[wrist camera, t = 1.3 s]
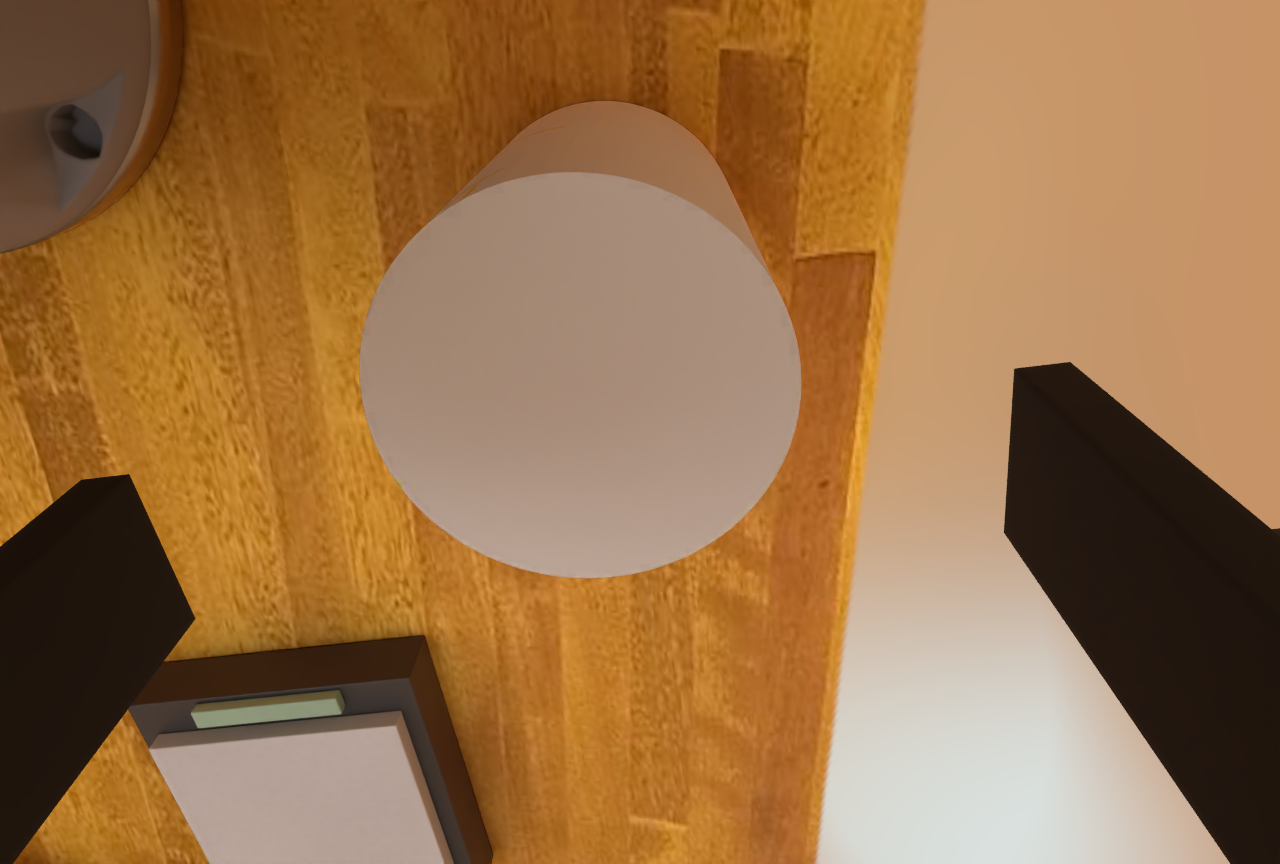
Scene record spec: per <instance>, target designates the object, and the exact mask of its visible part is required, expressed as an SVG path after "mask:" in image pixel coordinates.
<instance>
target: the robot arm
mask: <svg viewBox="0 0 1280 864" xmlns="http://www.w3.org/2000/svg"><path fill="white" fill-rule="evenodd" d="M182 46H183V42H182V13H181V4H180V0H0V253H6V252H11V251H14V250H17V249H20V248H23V247H27V246H30V245H33V244H35V243H38V242H41V241H43V240H46V239H48V238H51V237H54V236H56V235H59V234H61V233H64V232H66V231H68V230H71V229H73V228H75V227H77V226H80V225H82V224H84V223H86V222H87V221H89V220H91V219H92V218H94V217H96V216H97V215H99V214H101V213H102V212H104V211H105V210H106V209H107V208H109V207H110V206H111V205H112V204H114V203H115V202H116V201H117V200H119V199H120V198H121V197H122V196H123V195H124V194H125V193H126V192H127V191H128V190H129V189H130V188H131V187H132V185H133V184H134V183H135V182H136V181H137V180H138V178H139V177H140V176H141V174H142V173H143V172H144V170H145V169H146V167H147V166H148V165H149V163H150V161H151V160H152V158H153V156H154V154H155V152H156V151H157V149H158V147H159V145H160V143H161V141H162V139H163V136H164V134H165V131H166V129H167V126H168V124H169V121H170V118H171V114H172V111H173V107H174V104H175V100H176V96H177V90H178V85H179V79H180V73H181V60H182ZM1006 494H1007V495H1006V510H1005V525H1004V533H1005V535H1006V536H1007V538H1008V539H1009V540H1010V542H1011V543H1012V545H1013V546H1014V548H1015V549H1016V551H1017V552H1018V553H1019V555H1020V557H1021V558H1022V560H1023V561H1024V562H1025V564H1026V565H1027V567H1028V568H1029V570H1030V571H1031V573H1032V574H1033V576H1034V577H1035V579H1036V580H1037V582H1038V583H1039V584H1040V586H1041V587H1042V589H1043V590H1044V592H1045V593H1046V595H1047V596H1048V598H1049V599H1050V600H1051V602H1052V603H1053V605H1054V606H1055V608H1056V609H1057V611H1058V612H1059V614H1060V615H1061V617H1062V618H1063V620H1064V621H1065V622H1066V624H1067V625H1068V627H1069V628H1070V630H1071V631H1072V633H1073V634H1074V636H1075V637H1076V639H1077V640H1078V641H1079V643H1080V644H1081V646H1082V647H1083V649H1084V650H1085V652H1086V653H1087V655H1088V656H1089V657H1090V659H1091V660H1092V662H1093V663H1094V665H1095V666H1096V668H1097V669H1098V671H1099V672H1100V674H1101V675H1102V677H1103V678H1104V679H1105V681H1106V682H1107V684H1108V685H1109V687H1110V688H1111V690H1112V691H1113V693H1114V694H1115V696H1116V697H1117V699H1118V700H1119V701H1120V703H1121V704H1122V706H1123V707H1124V708H1125V710H1126V712H1127V713H1128V715H1129V716H1130V718H1131V719H1132V720H1133V722H1134V723H1135V725H1136V726H1137V728H1138V729H1139V731H1140V732H1141V734H1142V735H1143V737H1144V738H1145V739H1146V741H1147V742H1148V744H1149V745H1150V747H1151V748H1152V750H1153V751H1154V753H1155V754H1156V755H1157V757H1158V759H1159V760H1160V761H1161V763H1162V764H1163V766H1164V767H1165V769H1166V770H1167V772H1168V773H1169V775H1170V776H1171V778H1172V779H1173V780H1174V782H1175V783H1176V785H1177V786H1178V788H1179V789H1180V791H1181V792H1182V794H1183V795H1184V797H1185V798H1186V799H1187V801H1188V802H1189V804H1190V805H1191V807H1192V808H1193V810H1194V811H1195V812H1196V814H1197V816H1198V817H1199V818H1200V820H1201V821H1202V823H1203V824H1204V826H1205V827H1206V829H1207V830H1208V832H1209V833H1210V835H1211V836H1212V837H1213V839H1214V840H1215V842H1216V843H1217V845H1218V846H1219V847H1220V849H1221V851H1222V852H1223V854H1224V855H1225V857H1226V858H1227V859H1228V861H1229V862H1230V864H1280V528H1279V529H1270V528H1269V527H1268V526H1267V525H1266V524H1264V523H1263V522H1262V521H1261V520H1260V519H1258V518H1257V517H1256V516H1255V515H1254V514H1252V513H1251V512H1250V511H1249V510H1248V509H1246V508H1245V507H1244V506H1243V505H1242V504H1240V503H1239V502H1238V501H1237V500H1235V499H1234V498H1233V497H1232V496H1231V495H1230V494H1228V493H1227V492H1226V491H1225V490H1223V489H1222V488H1221V487H1220V486H1219V485H1218V484H1216V483H1215V482H1214V481H1213V480H1211V479H1210V478H1209V477H1208V476H1207V475H1205V474H1204V473H1203V472H1202V471H1201V470H1199V469H1198V468H1197V467H1195V465H1193V464H1192V463H1191V462H1190V461H1189V460H1187V459H1186V458H1185V457H1184V456H1183V455H1181V454H1180V453H1179V452H1178V451H1177V450H1175V449H1174V448H1173V447H1172V446H1171V445H1169V444H1168V443H1167V442H1166V441H1165V440H1163V439H1162V438H1161V437H1160V436H1158V435H1157V434H1156V433H1155V432H1154V431H1152V430H1151V429H1150V428H1149V427H1147V426H1146V425H1145V424H1144V423H1143V422H1142V421H1140V420H1139V419H1138V418H1137V417H1136V416H1134V415H1133V414H1132V413H1131V412H1130V411H1128V410H1127V409H1126V408H1125V407H1124V406H1122V405H1121V404H1120V403H1119V402H1117V401H1116V400H1115V399H1114V398H1113V397H1111V396H1110V395H1109V394H1108V393H1107V392H1105V391H1104V390H1103V389H1102V388H1101V387H1099V386H1098V385H1097V384H1096V383H1095V382H1093V381H1092V380H1091V379H1090V378H1088V377H1087V376H1086V375H1085V374H1084V373H1083V372H1081V371H1080V370H1079V369H1078V368H1077V367H1075V366H1074V365H1073V364H1072V363H1071V362H1067V363H1059V364H1050V365H1042V366H1034V367H1025V368H1017V369H1014V383H1013V398H1012V415H1011V430H1010V445H1009V462H1008V478H1007V493H1006ZM194 620H195V617H194V615H193V612H192V610H191V608H190V606H189V604H188V602H187V599H186V597H185V595H184V593H183V591H182V588H181V586H180V584H179V582H178V580H177V578H176V575H175V573H174V571H173V569H172V567H171V564H170V562H169V560H168V558H167V556H166V554H165V551H164V549H163V547H162V545H161V543H160V540H159V538H158V536H157V534H156V532H155V530H154V527H153V525H152V523H151V521H150V519H149V516H148V514H147V512H146V510H145V508H144V506H143V503H142V501H141V499H140V497H139V495H138V492H137V490H136V488H135V486H134V484H133V482H132V479H131V477H130V475H129V474H127V475H119V476H110V477H102V478H94V479H85V480H81V481H79V482H78V483H77V484H76V485H75V486H73V487H72V488H71V489H70V490H69V491H67V492H66V493H65V494H64V495H62V496H61V497H60V498H59V499H58V500H56V501H55V502H54V503H53V504H52V505H50V506H49V507H48V508H47V509H46V510H44V511H43V512H42V513H41V514H39V515H38V516H37V517H36V518H35V519H33V520H32V521H31V522H30V523H29V524H27V525H26V526H25V527H24V528H23V529H21V530H20V531H19V532H18V533H16V534H15V535H14V536H13V537H12V538H10V539H9V540H8V541H7V542H6V543H4V544H3V545H2V546H1V547H0V864H13V863H14V861H15V860H16V859H17V857H18V856H19V855H20V853H21V852H22V851H23V849H24V848H25V847H26V845H27V844H28V843H29V841H30V840H31V839H32V837H33V836H34V834H35V833H36V832H37V830H38V829H39V828H40V826H41V825H42V824H43V822H44V821H45V820H46V818H47V817H48V816H49V814H50V813H51V812H52V810H53V809H54V808H55V806H56V805H57V804H58V802H59V801H60V800H61V798H62V797H63V796H64V794H65V793H66V792H67V790H68V789H69V788H70V786H71V785H72V784H73V782H74V781H75V779H76V778H77V777H78V775H79V774H80V773H81V771H82V770H83V769H84V767H85V766H86V765H87V763H88V762H89V761H90V759H91V758H92V757H93V755H94V754H95V753H96V751H97V750H98V749H99V747H100V746H101V745H102V743H103V742H104V741H105V739H106V738H107V737H108V735H109V734H110V733H111V731H112V730H113V729H114V727H115V726H116V725H117V723H118V722H119V720H120V719H121V718H122V716H123V715H124V714H125V712H126V711H127V710H128V708H129V707H130V706H131V704H132V703H133V702H134V700H135V699H136V698H137V696H138V695H139V694H140V692H141V691H142V690H143V688H144V687H145V686H146V684H147V683H148V682H149V680H150V679H151V678H152V676H153V675H154V674H155V672H156V671H157V670H158V668H159V667H160V665H161V664H162V663H163V661H164V660H165V659H166V657H167V656H168V655H169V653H170V652H171V651H172V649H173V648H174V647H175V645H176V644H177V643H178V641H179V640H180V639H181V637H182V636H183V635H184V633H185V632H186V631H187V629H188V628H189V627H190V625H191V624H192V623H193V621H194Z"/></svg>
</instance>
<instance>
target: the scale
mask: <svg viewBox="0 0 1280 864" xmlns="http://www.w3.org/2000/svg"><path fill="white" fill-rule="evenodd" d="M128 710H129V712H130V713H131V715H132V717H133V719H134V721H135V723H136V725H137V726H138V728H139V730H140V732H141V734H142V736H143V738H144V739H145V741H146V743H147V745H148V747H149V752H150V754H151V755H152V757H153V759H154V761H155V763H156V765H157V767H158V768H159V770H160V772H161V774H162V776H163V778H164V780H165V781H166V783H167V785H168V787H169V789H170V791H171V793H172V794H173V796H174V798H175V800H176V802H177V804H178V805H179V807H180V809H181V811H182V813H183V815H184V817H185V818H186V820H187V822H188V824H189V826H190V828H191V830H192V831H193V833H194V835H195V837H196V839H197V841H198V843H199V844H200V846H201V848H202V850H203V852H204V854H205V856H206V857H207V859H208V861H209V863H210V864H492V858H493V853H492V850H491V847H490V844H489V841H488V838H487V834H486V831H485V828H484V825H483V822H482V818H481V815H480V812H479V809H478V806H477V803H476V799H475V796H474V793H473V790H472V787H471V784H470V780H469V777H468V774H467V771H466V768H465V765H464V761H463V758H462V755H461V752H460V749H459V745H458V742H457V739H456V736H455V733H454V730H453V726H452V723H451V720H450V717H449V714H448V711H447V707H446V704H445V701H444V698H443V695H442V692H441V688H440V685H439V682H438V679H437V676H436V672H435V669H434V666H433V663H432V660H431V657H430V653H429V650H428V647H427V644H426V641H425V638H424V636H417V637H407V638H397V639H388V640H378V641H368V642H359V643H349V644H340V645H330V646H320V647H311V648H301V649H292V650H282V651H272V652H263V653H253V654H243V655H234V656H224V657H215V658H205V659H195V660H186V661H176V662H167V663H162V664H161V665H160V667H159V668H158V670H157V671H156V672H155V674H154V675H153V676H152V678H151V679H150V680H149V682H148V683H147V684H146V686H145V687H144V688H143V690H142V691H141V692H140V694H139V695H138V696H137V698H136V699H135V700H134V702H133V703H132V704H131V706H130V707H129V708H128Z"/></svg>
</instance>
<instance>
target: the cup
mask: <svg viewBox="0 0 1280 864" xmlns="http://www.w3.org/2000/svg"><path fill="white" fill-rule="evenodd" d="M359 375H360V388H361V397H362V402H363V408H364V412H365V416H366V419H367V423H368V427H369V429H370V432H371V435H372V438H373V440H374V443H375V445H376V447H377V449H378V451H379V454H380V456H381V458H382V459H383V461H384V463H385V465H386V467H387V468H388V470H389V472H390V473H391V475H392V476H393V478H394V479H395V481H396V482H397V483H398V485H399V486H400V487H401V489H402V490H403V491H404V493H405V494H406V495H407V496H408V497H409V498H410V500H411V501H412V502H413V503H414V504H415V505H416V506H417V507H418V508H419V509H420V510H421V511H422V512H423V513H424V514H425V515H426V516H427V517H428V518H429V519H430V520H432V521H433V522H434V523H435V524H436V525H437V526H439V527H440V528H441V529H443V530H444V531H445V532H447V533H448V534H449V535H451V536H452V537H454V538H455V539H457V540H458V541H460V542H462V543H463V544H465V545H466V546H468V547H470V548H472V549H474V550H476V551H477V552H479V553H481V554H484V555H486V556H488V557H490V558H492V559H495V560H497V561H500V562H502V563H505V564H507V565H511V566H514V567H517V568H520V569H523V570H528V571H532V572H536V573H541V574H546V575H552V576H560V577H569V578H605V577H616V576H623V575H630V574H635V573H639V572H644V571H648V570H651V569H655V568H658V567H661V566H664V565H667V564H670V563H672V562H675V561H677V560H679V559H682V558H684V557H686V556H688V555H690V554H692V553H694V552H696V551H698V550H700V549H702V548H703V547H705V546H707V545H708V544H710V543H711V542H713V541H715V540H716V539H717V538H719V537H720V536H722V535H723V534H724V533H726V532H727V531H728V530H729V529H731V528H732V527H733V526H734V525H735V524H737V523H738V522H739V521H740V520H741V519H742V518H743V517H744V516H745V515H746V514H747V513H748V512H749V511H750V510H751V509H752V508H753V506H754V505H755V504H756V503H757V502H758V501H759V500H760V498H761V497H762V496H763V494H764V493H765V492H766V490H767V489H768V487H769V486H770V484H771V483H772V481H773V480H774V478H775V476H776V475H777V473H778V471H779V469H780V467H781V465H782V463H783V461H784V459H785V457H786V454H787V452H788V450H789V447H790V444H791V441H792V438H793V435H794V432H795V428H796V424H797V419H798V414H799V407H800V399H801V365H800V356H799V350H798V345H797V340H796V336H795V332H794V329H793V325H792V322H791V319H790V316H789V314H788V311H787V309H786V306H785V304H784V302H783V300H782V297H781V295H780V293H779V291H778V289H777V287H776V285H775V282H774V280H773V278H772V276H771V274H770V272H769V270H768V268H767V265H766V263H765V261H764V259H763V257H762V255H761V253H760V251H759V248H758V246H757V244H756V242H755V240H754V238H753V236H752V234H751V231H750V229H749V227H748V225H747V223H746V221H745V219H744V216H743V214H742V212H741V210H740V208H739V206H738V204H737V202H736V199H735V197H734V195H733V193H732V191H731V189H730V187H729V185H728V182H727V180H726V178H725V176H724V174H723V172H722V170H721V169H720V167H719V165H718V163H717V162H716V160H715V159H714V158H713V156H712V155H711V153H710V152H709V151H708V150H707V148H706V147H705V146H704V145H703V144H702V143H701V142H700V141H699V140H698V139H697V138H696V137H695V136H694V135H693V134H692V133H691V132H689V131H688V130H687V129H686V128H684V127H683V126H682V125H680V124H679V123H677V122H676V121H674V120H672V119H671V118H669V117H667V116H665V115H663V114H661V113H659V112H656V111H654V110H652V109H649V108H646V107H643V106H640V105H635V104H631V103H625V102H618V101H592V102H584V103H579V104H574V105H570V106H567V107H563V108H561V109H558V110H556V111H553V112H551V113H549V114H547V115H545V116H543V117H541V118H539V119H538V120H536V121H534V122H533V123H532V124H530V125H529V126H527V127H526V128H525V129H524V130H522V131H521V132H520V133H519V134H518V135H517V136H516V137H515V138H514V139H512V140H511V141H510V142H509V143H508V144H507V145H506V146H505V147H504V148H503V149H502V150H501V151H500V152H499V153H498V154H497V155H496V156H495V157H494V158H493V159H492V160H491V161H490V162H489V163H488V164H487V165H486V166H485V167H484V168H483V169H482V170H481V171H480V172H479V173H478V174H477V175H476V176H475V177H474V178H473V179H472V180H471V181H470V182H469V183H468V184H467V185H466V186H465V187H464V188H463V189H462V190H461V191H460V192H459V193H458V194H457V195H456V196H455V197H454V198H453V199H451V200H450V201H449V202H448V203H447V204H446V205H445V206H444V207H443V208H442V209H441V210H440V211H439V212H438V213H437V214H436V215H435V216H434V217H433V218H432V219H431V220H430V221H429V222H428V223H427V224H426V225H425V226H424V227H423V228H422V229H421V230H420V231H419V232H418V233H417V234H416V235H415V236H414V237H413V238H412V239H411V240H410V241H409V242H408V243H407V245H406V246H405V247H404V248H403V249H402V250H401V252H400V253H399V254H398V255H397V257H396V258H395V260H394V261H393V263H392V264H391V265H390V267H389V268H388V270H387V272H386V273H385V275H384V277H383V279H382V280H381V282H380V284H379V286H378V288H377V291H376V293H375V295H374V297H373V299H372V302H371V305H370V308H369V311H368V314H367V317H366V321H365V325H364V329H363V334H362V341H361V347H360V361H359Z"/></svg>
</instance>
